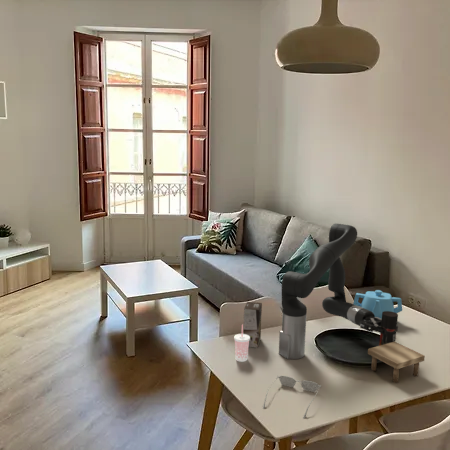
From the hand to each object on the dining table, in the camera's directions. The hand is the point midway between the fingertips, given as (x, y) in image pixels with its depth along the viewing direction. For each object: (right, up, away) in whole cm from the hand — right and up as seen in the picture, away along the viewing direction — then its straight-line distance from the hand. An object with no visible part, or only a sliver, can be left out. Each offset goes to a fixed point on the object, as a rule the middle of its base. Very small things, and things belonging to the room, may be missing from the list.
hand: (391, 330), depth 208 cm
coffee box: (-54, -7, +11) cm, 56 cm away
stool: (-3, -13, -13) cm, 18 cm away
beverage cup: (-59, -10, -4) cm, 60 cm away
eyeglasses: (-44, -17, -33) cm, 58 cm away
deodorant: (-1, -8, +3) cm, 9 cm away
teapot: (+5, -3, +37) cm, 38 cm away
